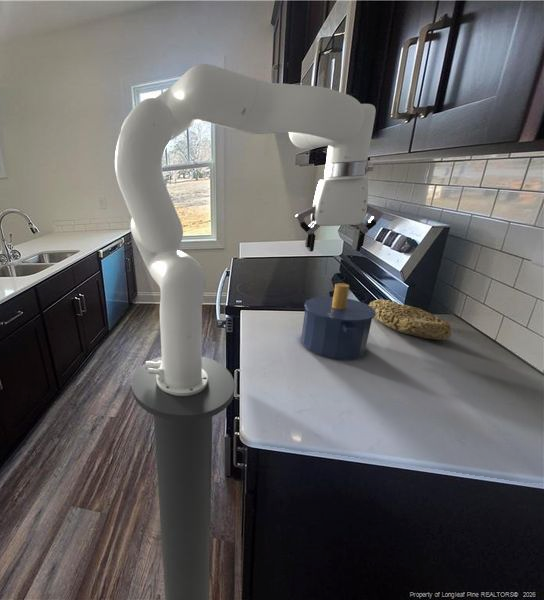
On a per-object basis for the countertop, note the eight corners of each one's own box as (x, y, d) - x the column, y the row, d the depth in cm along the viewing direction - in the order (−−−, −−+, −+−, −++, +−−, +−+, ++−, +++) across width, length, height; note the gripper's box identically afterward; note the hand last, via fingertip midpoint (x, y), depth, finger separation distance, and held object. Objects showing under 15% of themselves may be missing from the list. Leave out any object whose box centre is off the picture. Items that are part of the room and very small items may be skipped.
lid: (312, 323, 76) (316, 295, 73) (298, 299, 90) (301, 275, 87) (387, 325, 72) (394, 296, 70) (360, 301, 86) (365, 276, 84)
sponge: (359, 319, 100) (401, 337, 81) (366, 295, 99) (410, 307, 79) (404, 327, 99) (457, 346, 79) (411, 302, 97) (467, 316, 78)
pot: (311, 363, 77) (317, 324, 73) (294, 327, 95) (298, 295, 91) (379, 368, 74) (389, 327, 70) (348, 329, 92) (355, 296, 88)
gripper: (382, 169, 69) (367, 246, 76) (297, 174, 74) (289, 247, 80) (399, 168, 63) (381, 253, 69) (304, 174, 67) (295, 254, 73)
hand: (332, 250), depth 74 cm, fingers open, 9 cm apart
